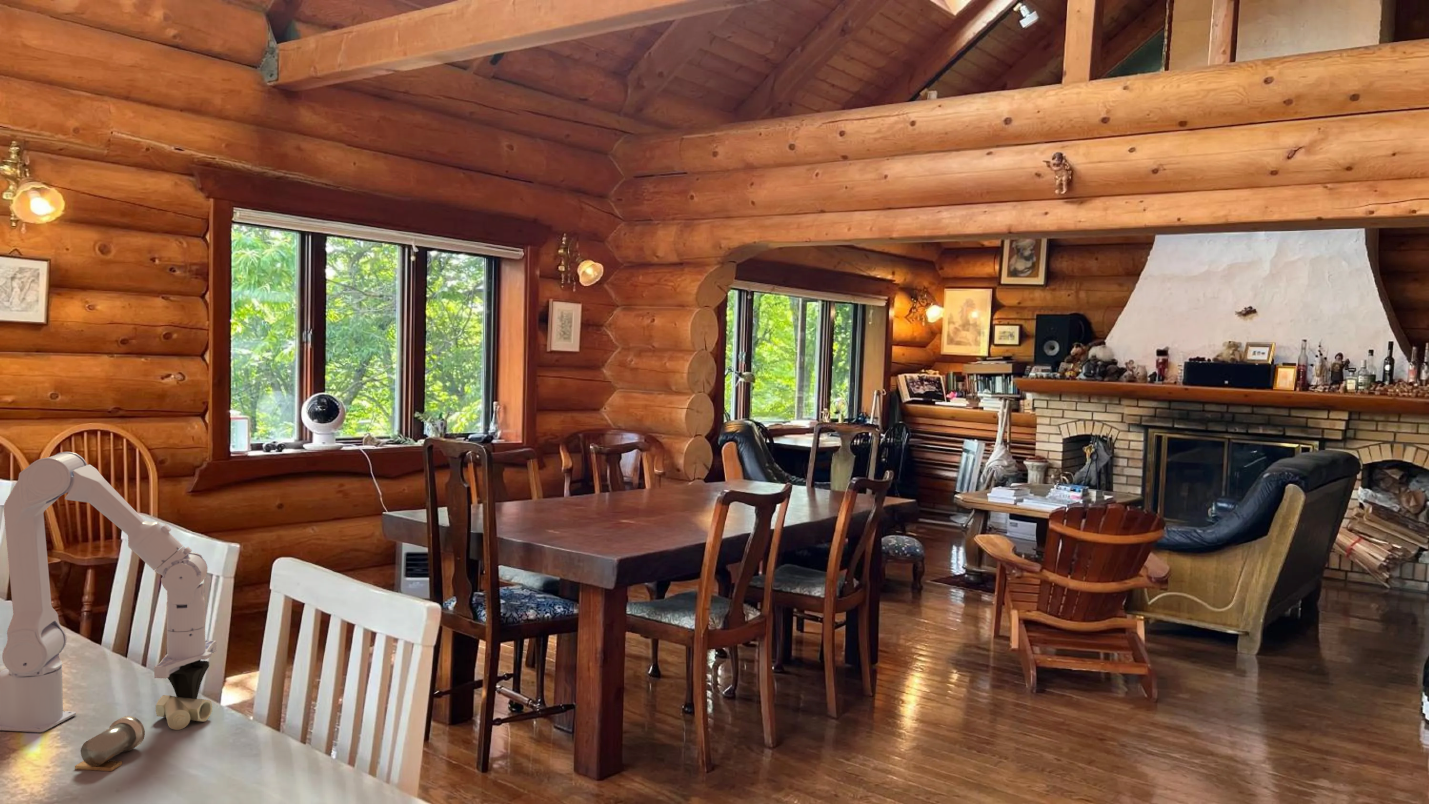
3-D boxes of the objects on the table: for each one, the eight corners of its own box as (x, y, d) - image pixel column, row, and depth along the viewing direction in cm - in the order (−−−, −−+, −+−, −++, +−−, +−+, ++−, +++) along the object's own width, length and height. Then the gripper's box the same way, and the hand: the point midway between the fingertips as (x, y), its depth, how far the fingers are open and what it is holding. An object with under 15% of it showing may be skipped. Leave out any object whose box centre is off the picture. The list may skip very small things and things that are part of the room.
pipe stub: (111, 771, 149) (110, 737, 149) (74, 769, 149) (74, 735, 149) (147, 748, 157) (146, 716, 157) (112, 746, 158) (111, 715, 157)
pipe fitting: (183, 735, 164) (213, 717, 170) (182, 712, 163) (211, 695, 170) (141, 730, 165) (171, 712, 172) (139, 707, 165) (169, 690, 171)
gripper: (183, 640, 164) (184, 723, 165) (232, 616, 178) (233, 692, 179) (141, 639, 164) (142, 721, 165) (194, 614, 179) (195, 690, 180)
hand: (187, 706), depth 172 cm, fingers closed
